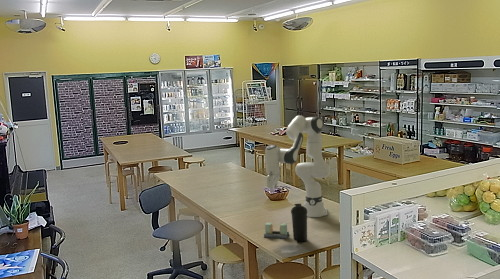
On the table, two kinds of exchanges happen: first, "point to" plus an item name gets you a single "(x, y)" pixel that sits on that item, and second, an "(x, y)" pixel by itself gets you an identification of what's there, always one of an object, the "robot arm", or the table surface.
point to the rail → (276, 235)
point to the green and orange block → (268, 228)
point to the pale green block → (283, 229)
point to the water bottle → (299, 223)
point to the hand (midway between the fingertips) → (274, 190)
